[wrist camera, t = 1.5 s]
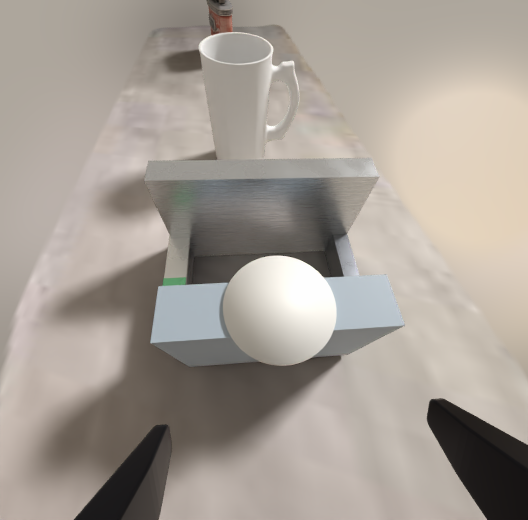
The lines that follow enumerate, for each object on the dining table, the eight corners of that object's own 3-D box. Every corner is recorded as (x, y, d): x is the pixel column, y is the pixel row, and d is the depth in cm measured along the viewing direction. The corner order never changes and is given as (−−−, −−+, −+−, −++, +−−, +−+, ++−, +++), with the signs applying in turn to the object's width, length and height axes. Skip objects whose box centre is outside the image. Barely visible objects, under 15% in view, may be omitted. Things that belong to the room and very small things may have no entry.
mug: (214, 176, 31) (196, 63, 21) (215, 142, 35) (199, 31, 24) (293, 174, 32) (314, 65, 22) (286, 142, 35) (301, 33, 25)
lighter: (208, 47, 49) (199, -29, 41) (224, 45, 50) (219, -30, 42) (221, 66, 46) (214, -13, 37) (238, 63, 47) (235, -15, 38)
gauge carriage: (352, 374, 20) (418, 354, 12) (162, 390, 19) (99, 380, 11) (335, 303, 23) (380, 250, 15) (170, 313, 22) (125, 262, 14)
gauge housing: (360, 336, 22) (430, 292, 14) (168, 350, 21) (110, 311, 12) (333, 235, 28) (371, 158, 19) (180, 241, 26) (145, 160, 18)
